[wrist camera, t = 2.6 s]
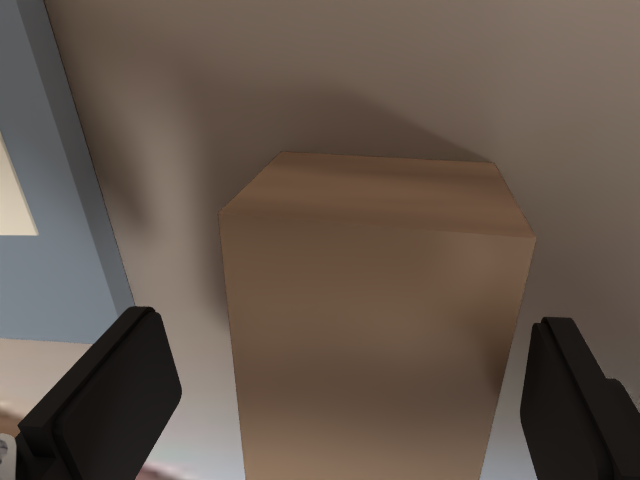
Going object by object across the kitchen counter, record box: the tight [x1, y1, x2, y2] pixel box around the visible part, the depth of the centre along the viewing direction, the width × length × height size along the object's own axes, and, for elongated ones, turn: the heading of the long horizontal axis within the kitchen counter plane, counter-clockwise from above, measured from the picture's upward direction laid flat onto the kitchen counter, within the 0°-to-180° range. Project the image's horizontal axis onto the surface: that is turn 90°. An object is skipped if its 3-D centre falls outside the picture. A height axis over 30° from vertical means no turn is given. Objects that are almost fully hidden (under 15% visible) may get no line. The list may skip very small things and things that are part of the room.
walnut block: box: [218, 152, 537, 480], centre depth 13 cm, size 9×6×5 cm, turn 0°
